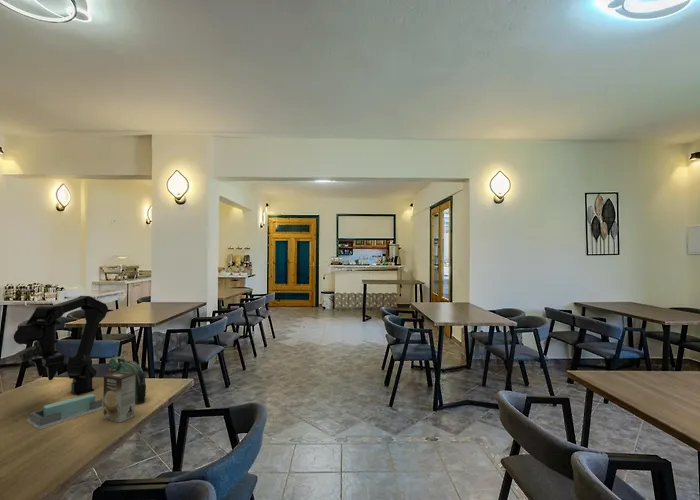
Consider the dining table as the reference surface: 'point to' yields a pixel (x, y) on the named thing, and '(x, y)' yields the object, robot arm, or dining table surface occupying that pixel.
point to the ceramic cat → (132, 367)
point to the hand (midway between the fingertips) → (45, 377)
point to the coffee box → (119, 396)
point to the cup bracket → (43, 422)
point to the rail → (69, 405)
